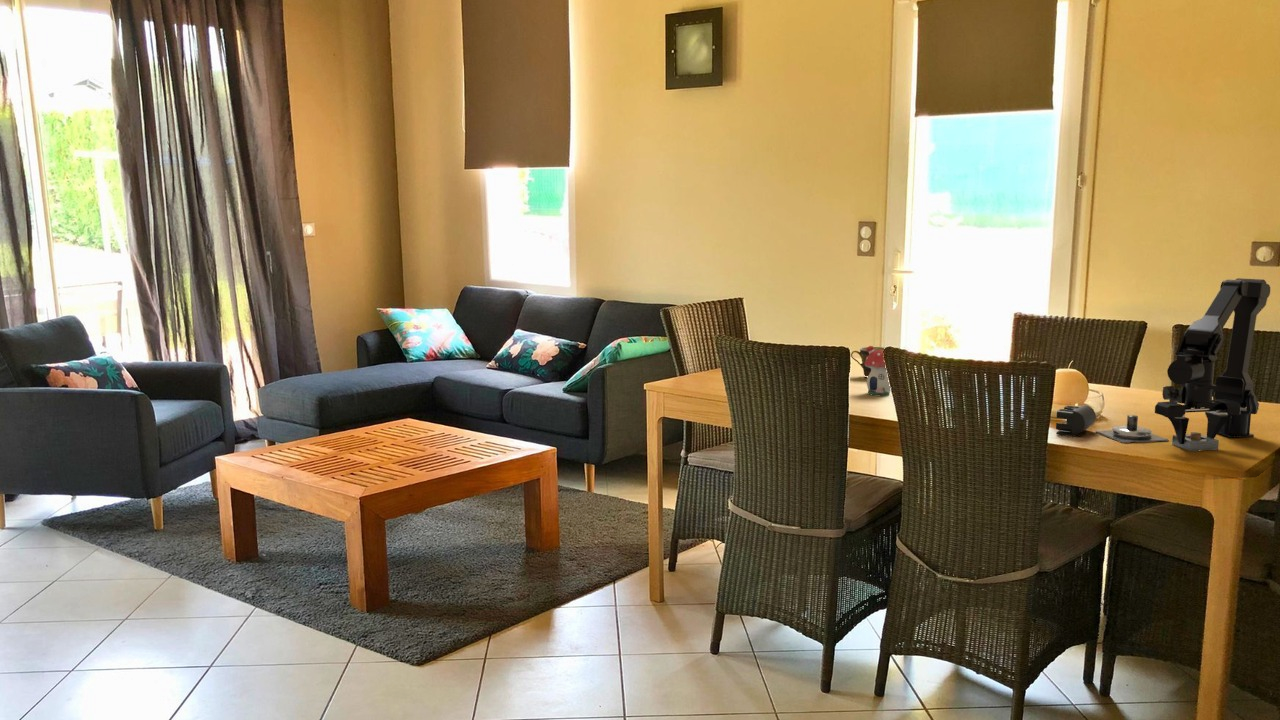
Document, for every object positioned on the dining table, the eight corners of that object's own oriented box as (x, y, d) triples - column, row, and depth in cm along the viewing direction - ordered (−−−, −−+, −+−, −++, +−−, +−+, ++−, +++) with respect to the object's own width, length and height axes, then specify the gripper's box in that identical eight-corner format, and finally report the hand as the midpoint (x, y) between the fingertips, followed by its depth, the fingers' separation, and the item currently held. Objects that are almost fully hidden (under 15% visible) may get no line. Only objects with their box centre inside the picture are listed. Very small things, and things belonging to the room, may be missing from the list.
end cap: (1084, 438, 256) (1085, 412, 255) (1055, 434, 261) (1056, 409, 260) (1095, 431, 264) (1096, 405, 263) (1067, 427, 268) (1068, 402, 267)
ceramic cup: (887, 375, 352) (887, 346, 351) (891, 380, 342) (892, 351, 341) (849, 375, 353) (849, 346, 352) (852, 380, 343) (852, 351, 342)
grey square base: (1198, 443, 249) (1199, 433, 249) (1218, 450, 242) (1218, 440, 242) (1172, 444, 248) (1172, 435, 248) (1191, 451, 241) (1191, 441, 241)
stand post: (1195, 446, 247) (1196, 432, 246) (1202, 448, 244) (1203, 434, 244) (1187, 446, 246) (1188, 432, 246) (1193, 448, 244) (1194, 434, 244)
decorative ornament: (860, 393, 321) (861, 345, 318) (875, 390, 324) (876, 344, 322) (881, 397, 313) (882, 349, 311) (897, 395, 316) (898, 347, 314)
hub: (1138, 430, 264) (1140, 410, 263) (1168, 441, 252) (1169, 419, 251) (1095, 432, 262) (1096, 412, 261) (1123, 443, 250) (1124, 421, 250)
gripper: (1212, 372, 252) (1207, 434, 254) (1142, 375, 249) (1138, 437, 252) (1244, 380, 241) (1239, 444, 243) (1171, 383, 239) (1167, 448, 241)
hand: (1195, 443), depth 245 cm, fingers closed on grey square base, 7 cm apart
